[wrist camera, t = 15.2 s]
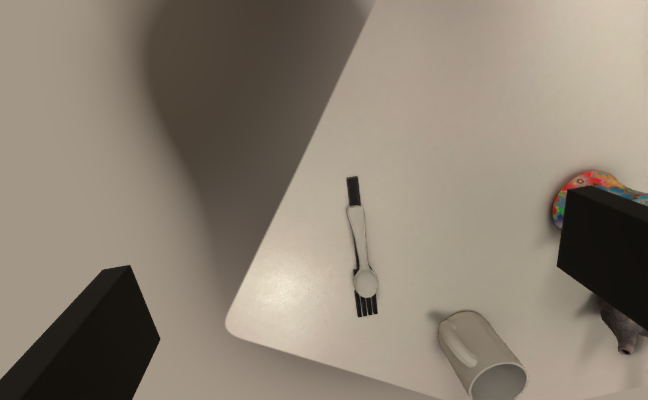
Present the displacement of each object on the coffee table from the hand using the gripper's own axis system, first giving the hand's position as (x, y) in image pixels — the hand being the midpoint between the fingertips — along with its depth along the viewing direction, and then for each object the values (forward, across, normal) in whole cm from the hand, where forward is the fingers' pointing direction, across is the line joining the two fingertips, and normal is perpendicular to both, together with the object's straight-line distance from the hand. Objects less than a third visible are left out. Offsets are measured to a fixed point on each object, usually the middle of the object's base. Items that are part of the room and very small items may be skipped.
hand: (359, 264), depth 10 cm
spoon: (+26, +4, -15) cm, 31 cm away
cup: (+27, +16, -30) cm, 43 cm away
